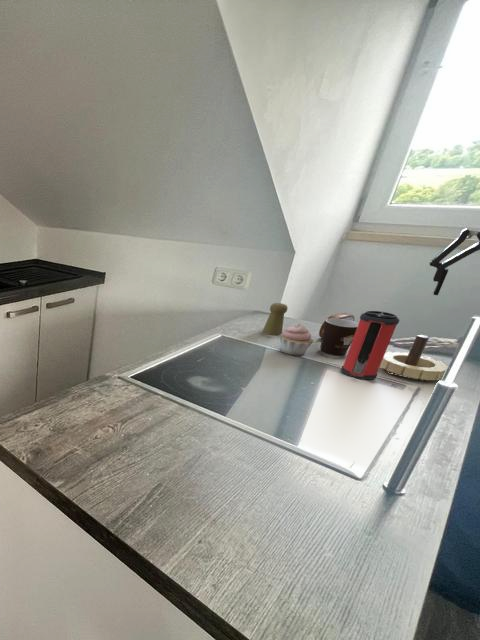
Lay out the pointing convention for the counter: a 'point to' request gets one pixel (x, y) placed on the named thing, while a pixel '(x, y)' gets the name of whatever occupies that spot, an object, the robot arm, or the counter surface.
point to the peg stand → (416, 352)
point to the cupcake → (295, 340)
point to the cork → (275, 319)
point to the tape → (424, 371)
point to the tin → (337, 316)
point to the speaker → (369, 344)
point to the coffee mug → (337, 336)
